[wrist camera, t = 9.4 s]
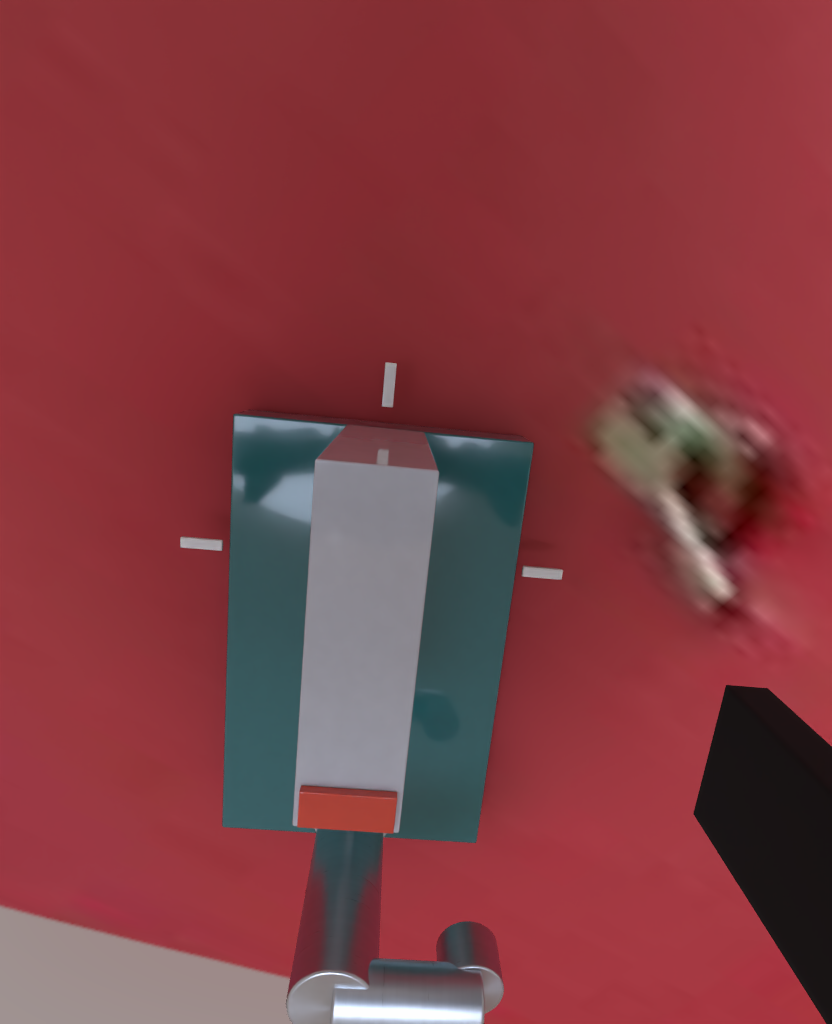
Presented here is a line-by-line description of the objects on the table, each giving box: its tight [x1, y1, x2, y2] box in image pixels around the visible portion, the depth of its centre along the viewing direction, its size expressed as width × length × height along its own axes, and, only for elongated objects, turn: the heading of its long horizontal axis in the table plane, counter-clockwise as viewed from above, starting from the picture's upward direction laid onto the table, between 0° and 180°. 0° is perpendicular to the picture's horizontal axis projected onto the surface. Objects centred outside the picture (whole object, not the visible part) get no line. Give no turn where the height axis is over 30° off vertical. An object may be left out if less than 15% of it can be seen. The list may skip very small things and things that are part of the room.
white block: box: [292, 425, 439, 834], centre depth 17 cm, size 9×3×8 cm, turn 174°
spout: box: [286, 829, 504, 1024], centre depth 19 cm, size 6×3×8 cm, turn 84°
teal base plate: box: [180, 362, 563, 843], centre depth 22 cm, size 18×13×2 cm
